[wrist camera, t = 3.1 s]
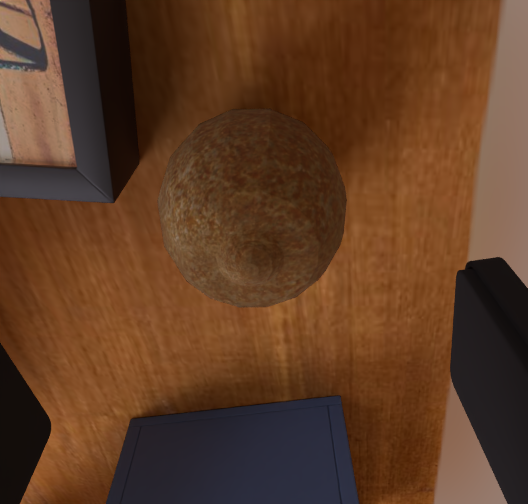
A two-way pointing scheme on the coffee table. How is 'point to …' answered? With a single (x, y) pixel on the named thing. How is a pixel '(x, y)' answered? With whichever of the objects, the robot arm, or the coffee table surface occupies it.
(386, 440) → the coffee table surface
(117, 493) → the blue bin
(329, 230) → the fruit
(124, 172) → the framed painting
